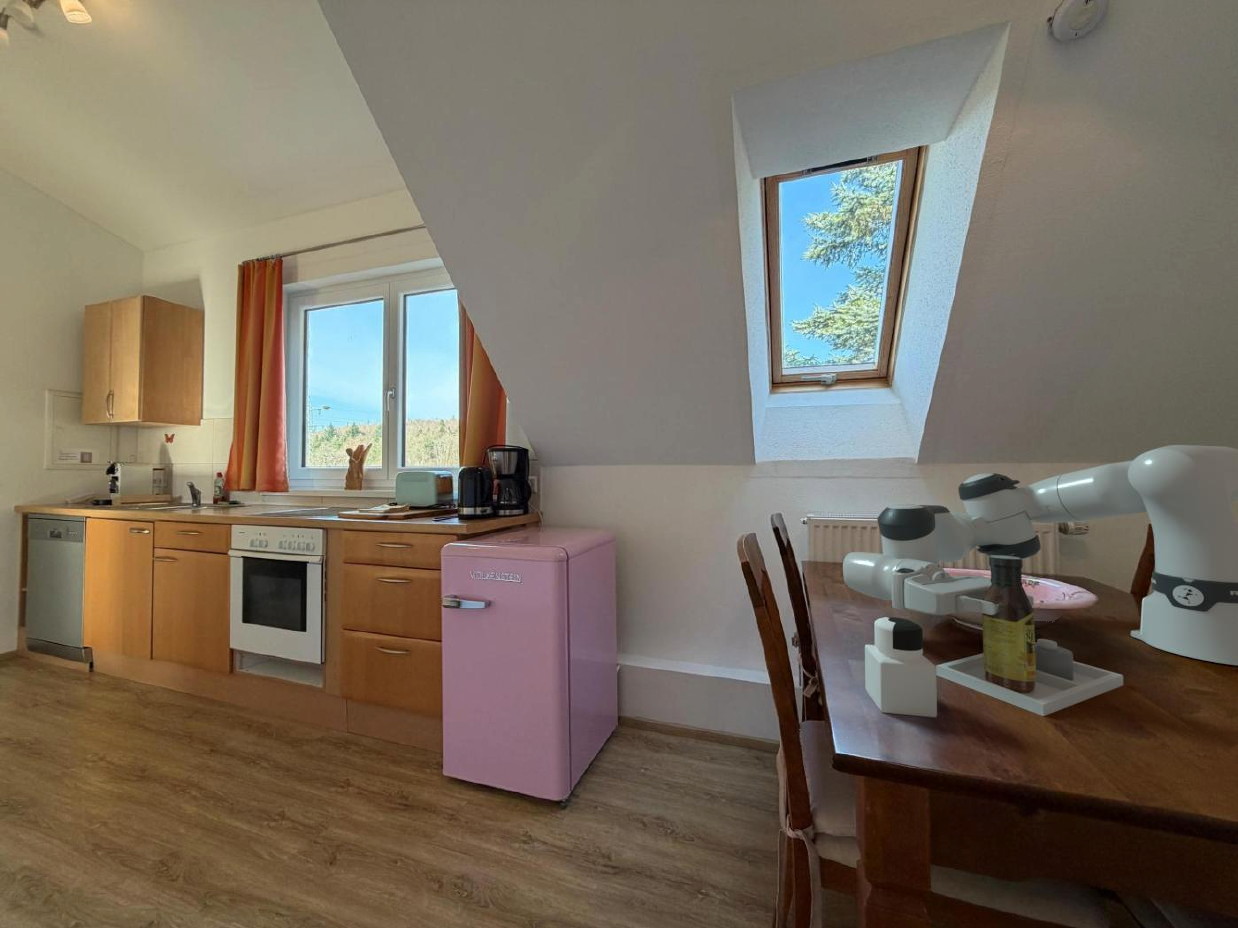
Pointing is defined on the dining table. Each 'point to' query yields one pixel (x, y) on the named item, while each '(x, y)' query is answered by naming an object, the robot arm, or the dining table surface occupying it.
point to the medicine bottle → (900, 669)
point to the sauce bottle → (1009, 628)
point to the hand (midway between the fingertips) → (1014, 605)
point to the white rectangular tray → (1048, 688)
